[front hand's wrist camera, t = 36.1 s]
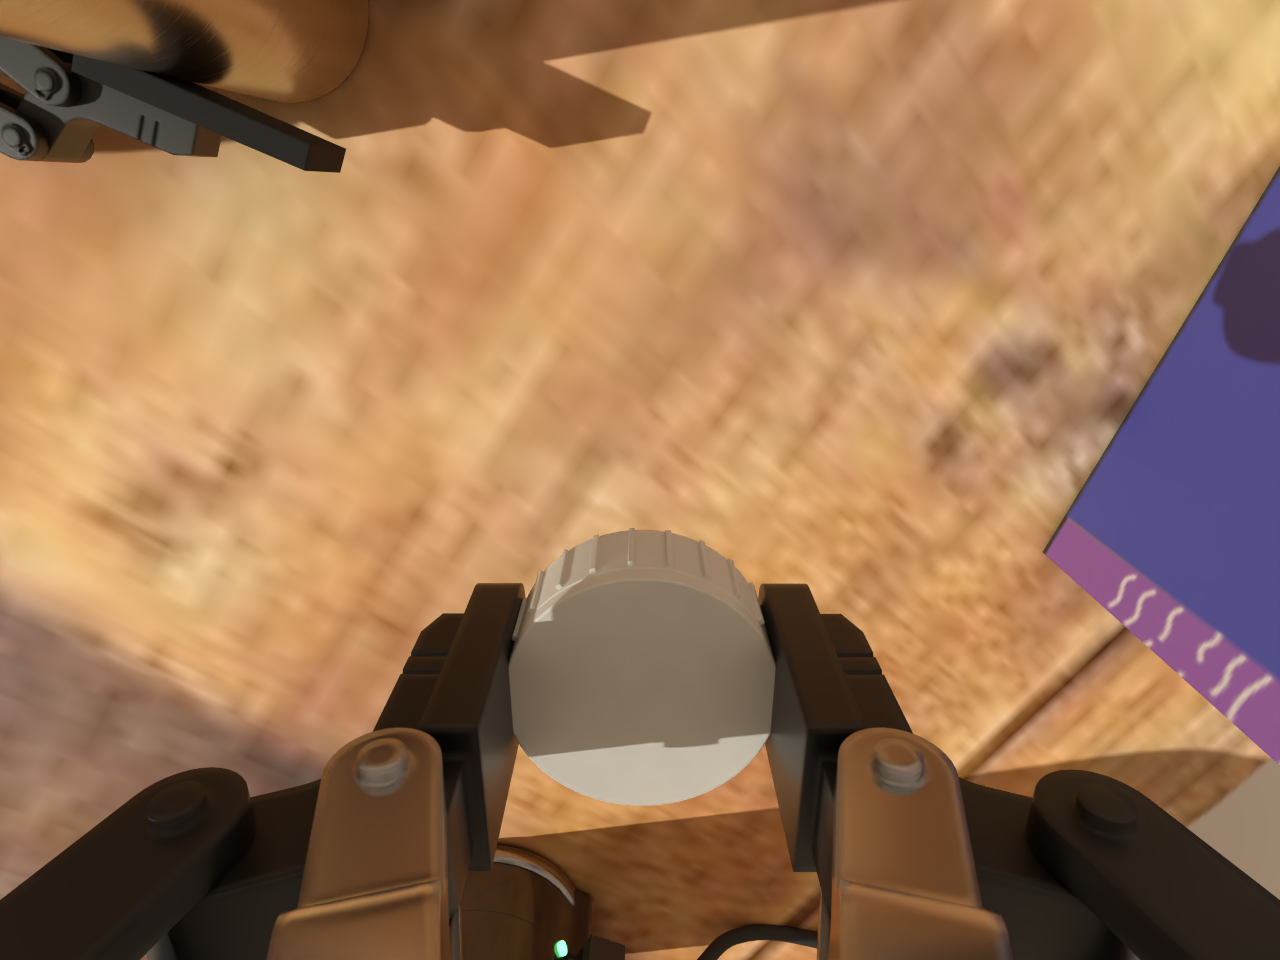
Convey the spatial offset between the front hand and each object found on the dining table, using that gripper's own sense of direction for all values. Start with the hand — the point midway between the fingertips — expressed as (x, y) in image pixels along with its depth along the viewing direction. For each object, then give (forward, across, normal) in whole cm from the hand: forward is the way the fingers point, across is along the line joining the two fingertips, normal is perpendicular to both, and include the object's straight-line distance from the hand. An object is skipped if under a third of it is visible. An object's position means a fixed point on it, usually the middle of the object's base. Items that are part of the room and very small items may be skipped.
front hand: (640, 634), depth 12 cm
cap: (-1, 0, 0) cm, 1 cm away
